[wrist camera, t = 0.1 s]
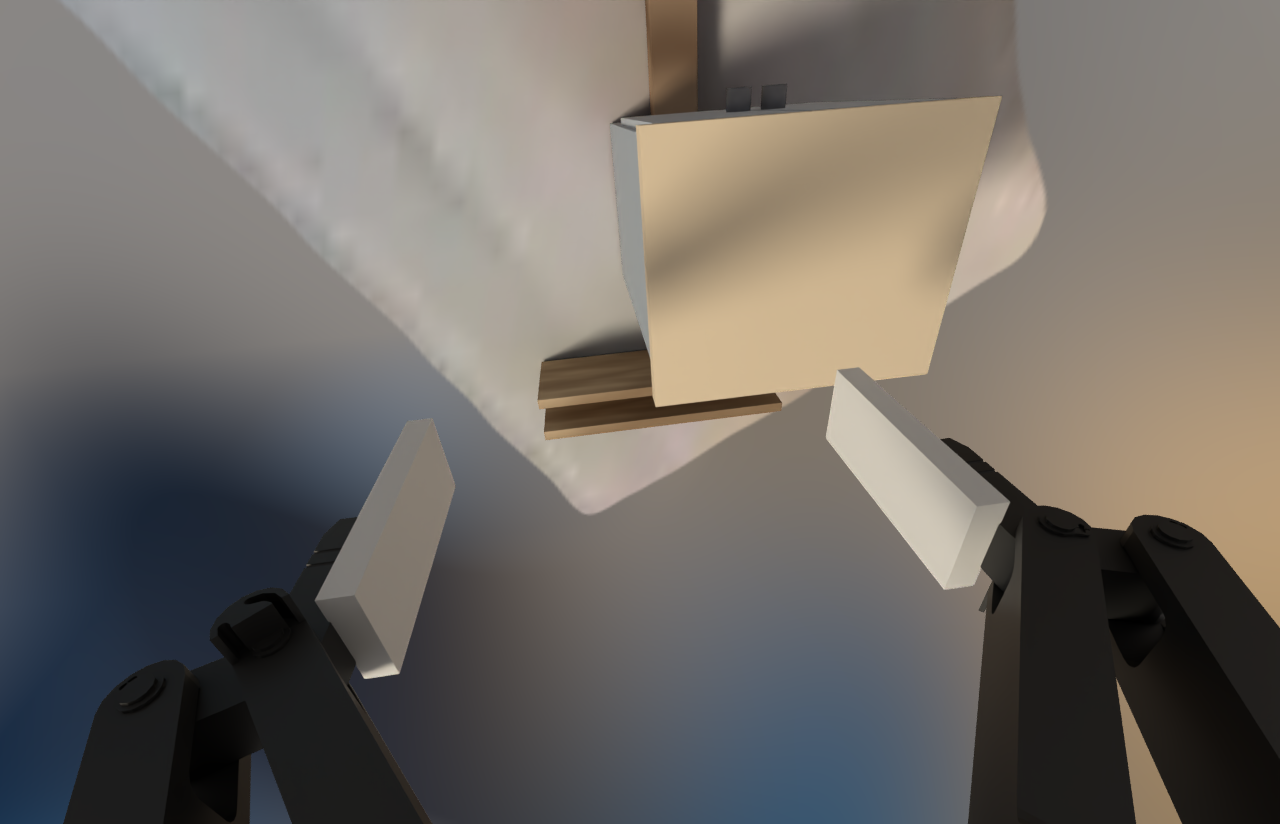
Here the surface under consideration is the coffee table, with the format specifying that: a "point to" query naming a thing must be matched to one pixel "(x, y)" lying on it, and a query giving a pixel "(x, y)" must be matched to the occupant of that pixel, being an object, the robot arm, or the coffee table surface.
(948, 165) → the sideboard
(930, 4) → the coffee table surface
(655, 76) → the wooden block
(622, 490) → the coffee table surface
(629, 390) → the stand
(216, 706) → the robot arm
